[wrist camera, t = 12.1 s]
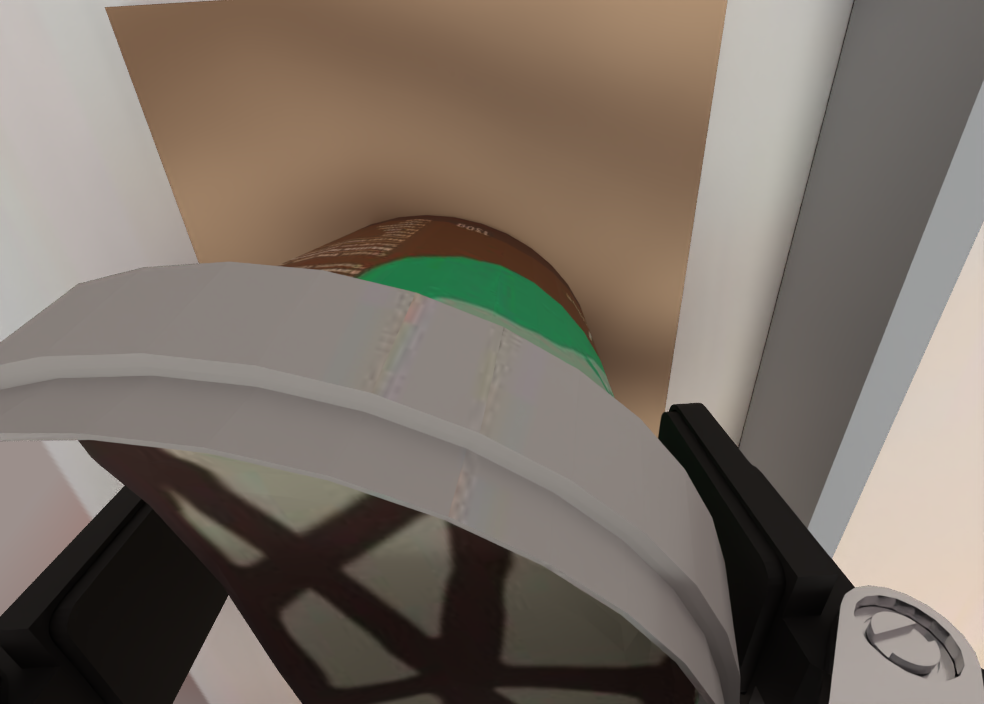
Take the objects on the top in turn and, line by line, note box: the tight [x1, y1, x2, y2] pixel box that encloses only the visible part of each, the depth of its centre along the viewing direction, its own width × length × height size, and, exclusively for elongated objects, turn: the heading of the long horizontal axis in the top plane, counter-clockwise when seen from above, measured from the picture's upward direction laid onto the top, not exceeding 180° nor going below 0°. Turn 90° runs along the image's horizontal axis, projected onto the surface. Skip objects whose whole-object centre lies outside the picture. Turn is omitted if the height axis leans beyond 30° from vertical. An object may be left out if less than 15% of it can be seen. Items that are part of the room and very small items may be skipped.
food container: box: [0, 215, 740, 704], centre depth 10 cm, size 12×6×10 cm, turn 18°
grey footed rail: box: [739, 0, 984, 559], centre depth 13 cm, size 24×5×4 cm, turn 3°
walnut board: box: [105, 0, 727, 438], centre depth 15 cm, size 18×14×1 cm
